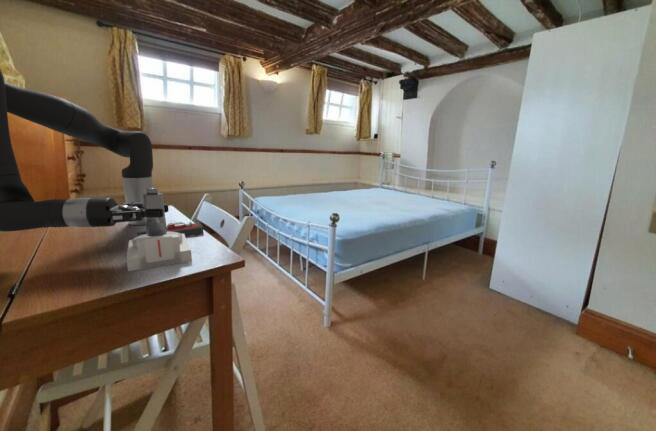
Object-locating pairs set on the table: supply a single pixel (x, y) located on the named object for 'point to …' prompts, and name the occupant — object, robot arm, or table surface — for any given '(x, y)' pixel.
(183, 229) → the walkie-talkie
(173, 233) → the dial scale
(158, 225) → the steel weight
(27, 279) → the table surface
